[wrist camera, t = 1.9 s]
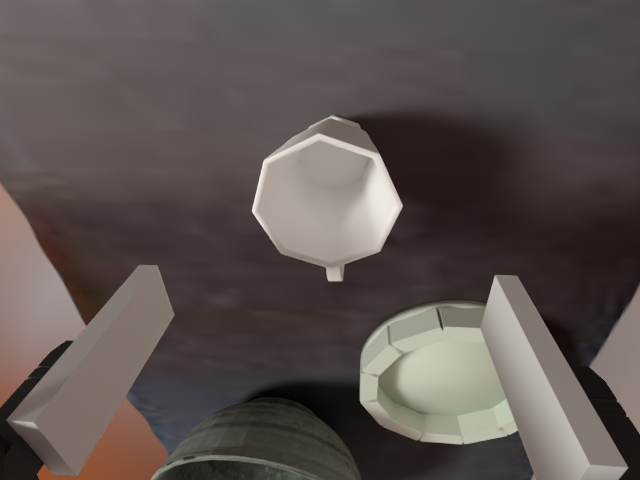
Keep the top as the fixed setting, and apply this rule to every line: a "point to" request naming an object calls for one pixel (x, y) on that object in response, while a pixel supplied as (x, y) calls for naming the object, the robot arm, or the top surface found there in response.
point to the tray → (434, 375)
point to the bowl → (261, 446)
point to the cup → (327, 196)
